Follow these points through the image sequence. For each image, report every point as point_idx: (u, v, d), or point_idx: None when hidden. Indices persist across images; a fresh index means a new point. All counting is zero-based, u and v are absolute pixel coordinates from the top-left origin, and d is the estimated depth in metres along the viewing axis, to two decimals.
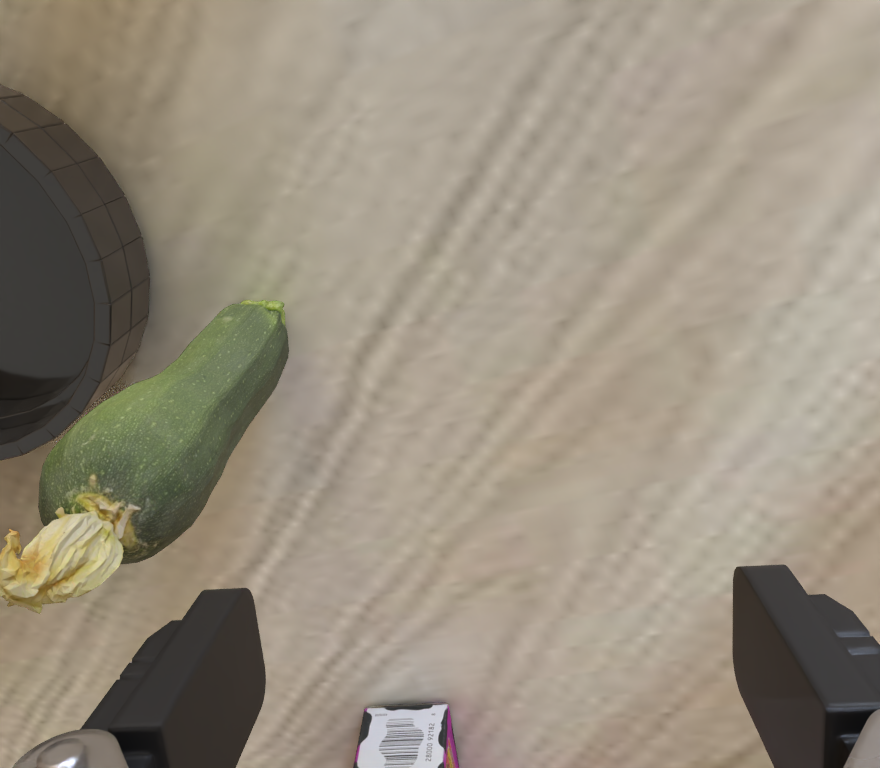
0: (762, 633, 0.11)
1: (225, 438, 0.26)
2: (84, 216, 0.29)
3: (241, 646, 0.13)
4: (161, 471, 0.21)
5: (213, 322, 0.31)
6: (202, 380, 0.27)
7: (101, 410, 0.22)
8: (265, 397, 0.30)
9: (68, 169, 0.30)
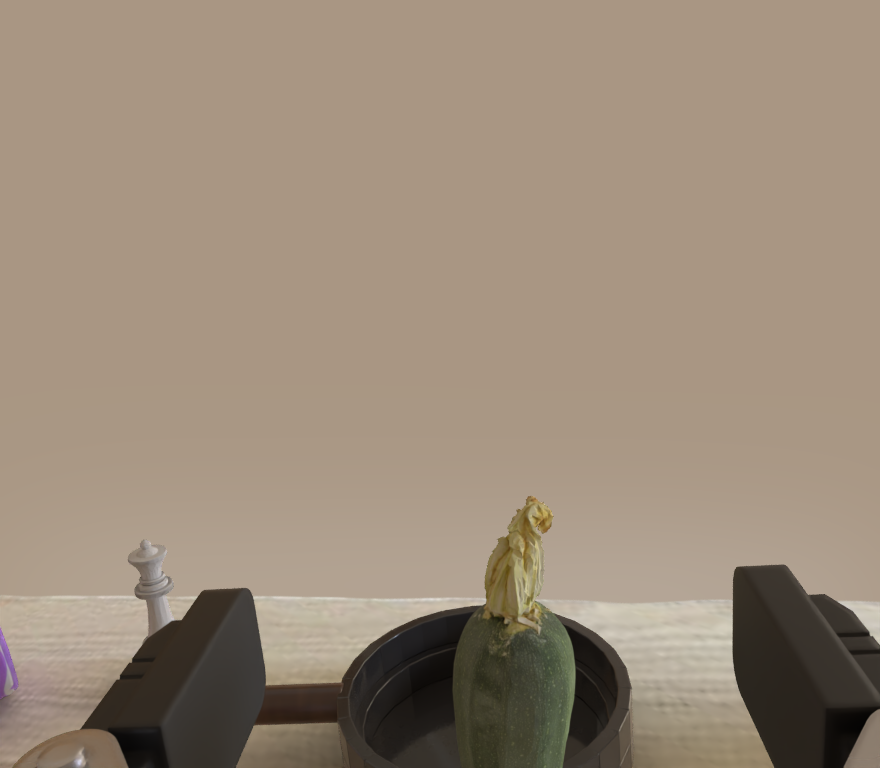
0: (762, 632, 0.11)
1: None
2: (597, 757, 0.37)
3: (241, 646, 0.13)
4: (561, 656, 0.27)
5: None
6: None
7: None
8: None
9: (618, 753, 0.38)
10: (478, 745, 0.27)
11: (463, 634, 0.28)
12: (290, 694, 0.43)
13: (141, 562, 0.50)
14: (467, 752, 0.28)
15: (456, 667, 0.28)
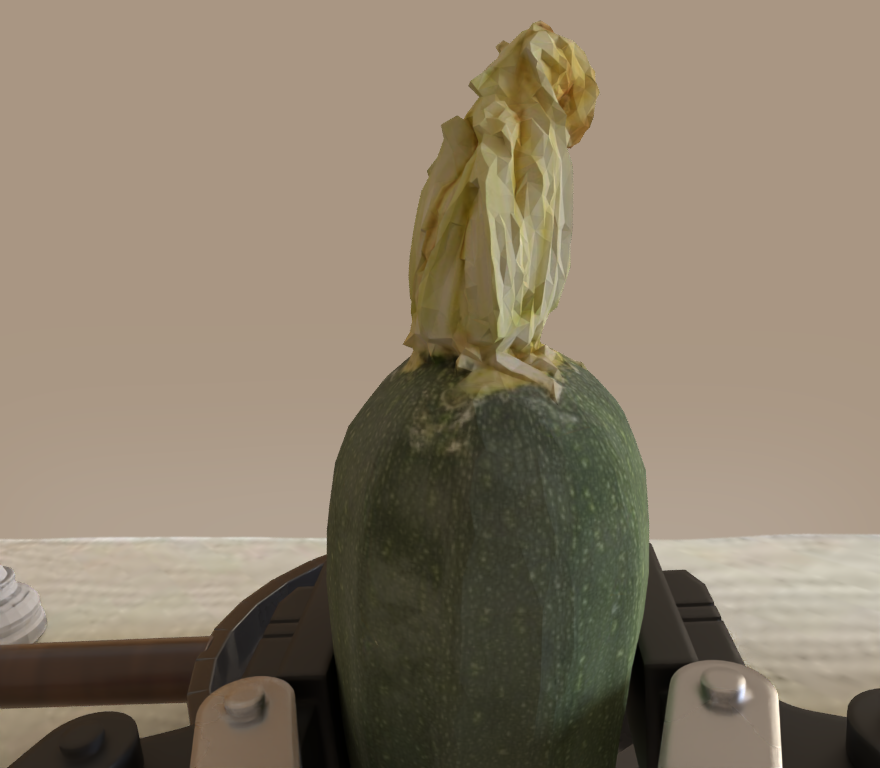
0: None
1: None
2: None
3: None
4: (621, 467, 0.09)
5: None
6: None
7: None
8: None
9: None
10: (382, 723, 0.10)
11: (351, 423, 0.10)
12: (121, 654, 0.25)
13: None
14: (356, 742, 0.10)
15: (329, 512, 0.10)
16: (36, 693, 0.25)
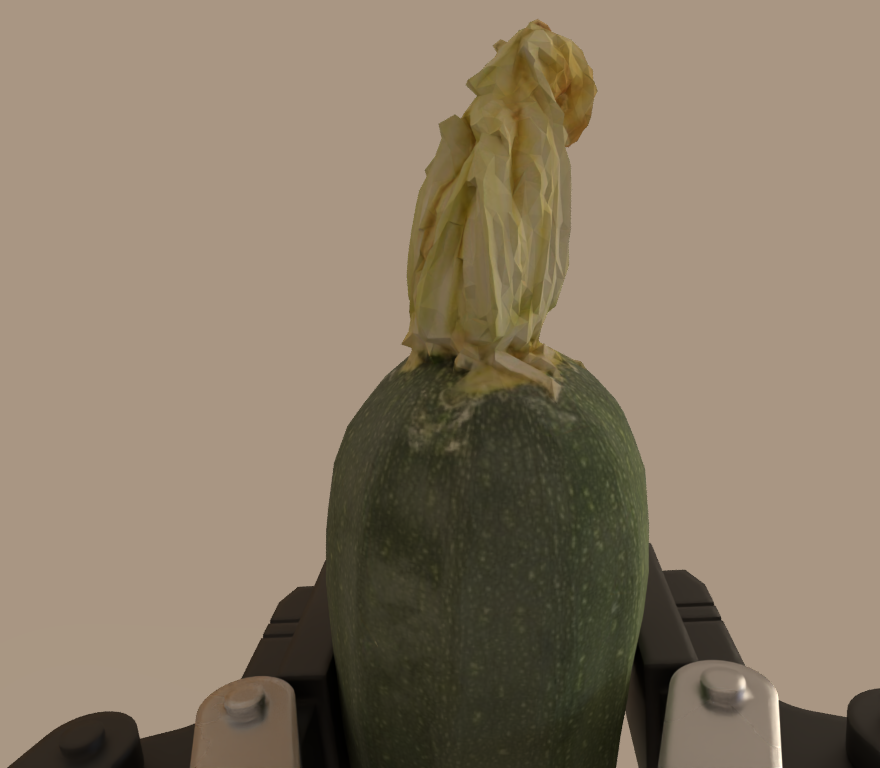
0: None
1: None
2: None
3: None
4: (622, 465, 0.09)
5: None
6: None
7: None
8: None
9: None
10: (382, 723, 0.10)
11: (350, 423, 0.10)
12: None
13: None
14: (356, 743, 0.10)
15: (329, 512, 0.10)
16: None
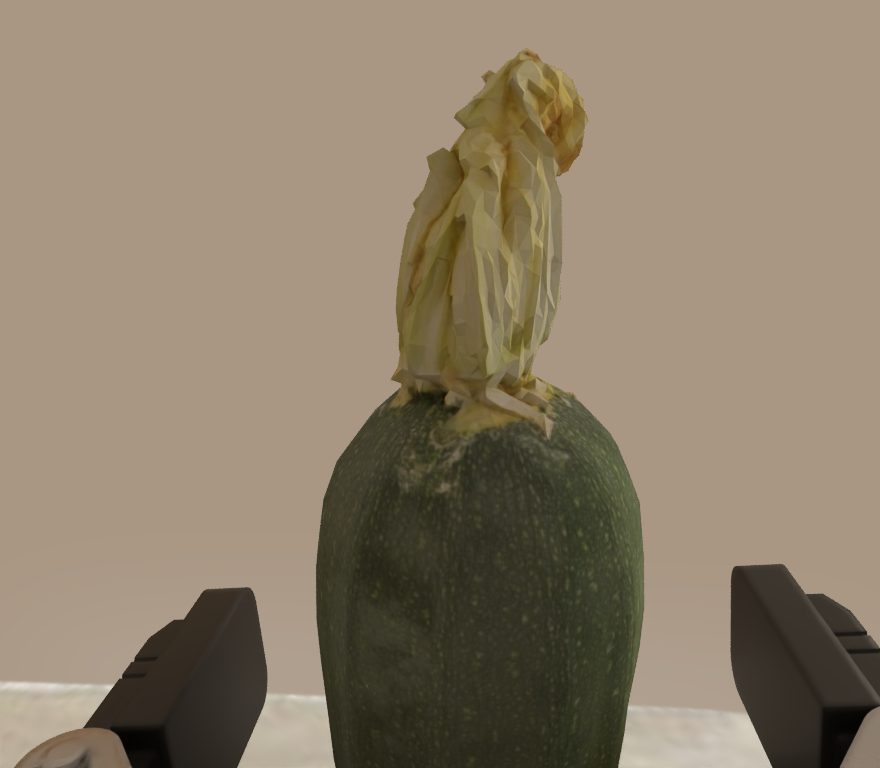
0: (760, 632, 0.11)
1: None
2: None
3: (242, 645, 0.13)
4: (615, 503, 0.09)
5: None
6: None
7: None
8: None
9: None
10: (374, 766, 0.10)
11: (339, 459, 0.10)
12: None
13: None
14: None
15: (318, 549, 0.10)
16: None
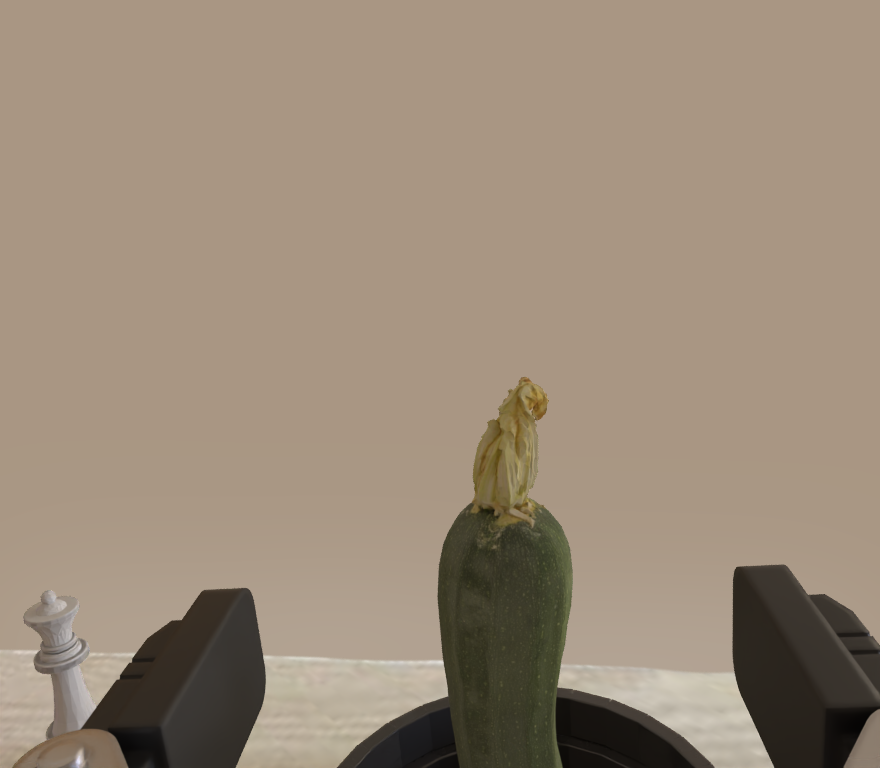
0: (762, 632, 0.11)
1: (531, 694, 0.25)
2: None
3: (241, 646, 0.13)
4: (558, 552, 0.24)
5: None
6: (555, 705, 0.27)
7: None
8: None
9: None
10: (465, 652, 0.25)
11: (449, 532, 0.25)
12: None
13: (40, 623, 0.36)
14: (453, 662, 0.25)
15: (441, 568, 0.25)
16: None
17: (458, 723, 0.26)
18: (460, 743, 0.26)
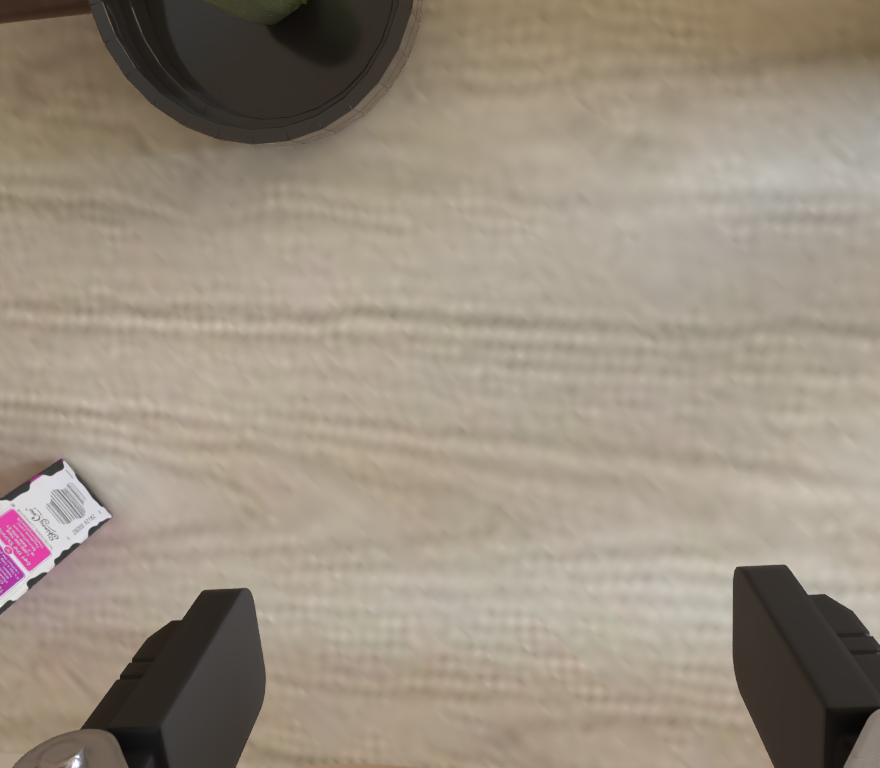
0: (762, 632, 0.11)
1: None
2: (377, 83, 0.38)
3: (241, 646, 0.13)
4: None
5: None
6: None
7: None
8: (242, 13, 0.35)
9: (400, 53, 0.38)
10: None
11: None
12: (33, 0, 0.37)
13: None
14: None
15: None
16: None
17: None
18: None
